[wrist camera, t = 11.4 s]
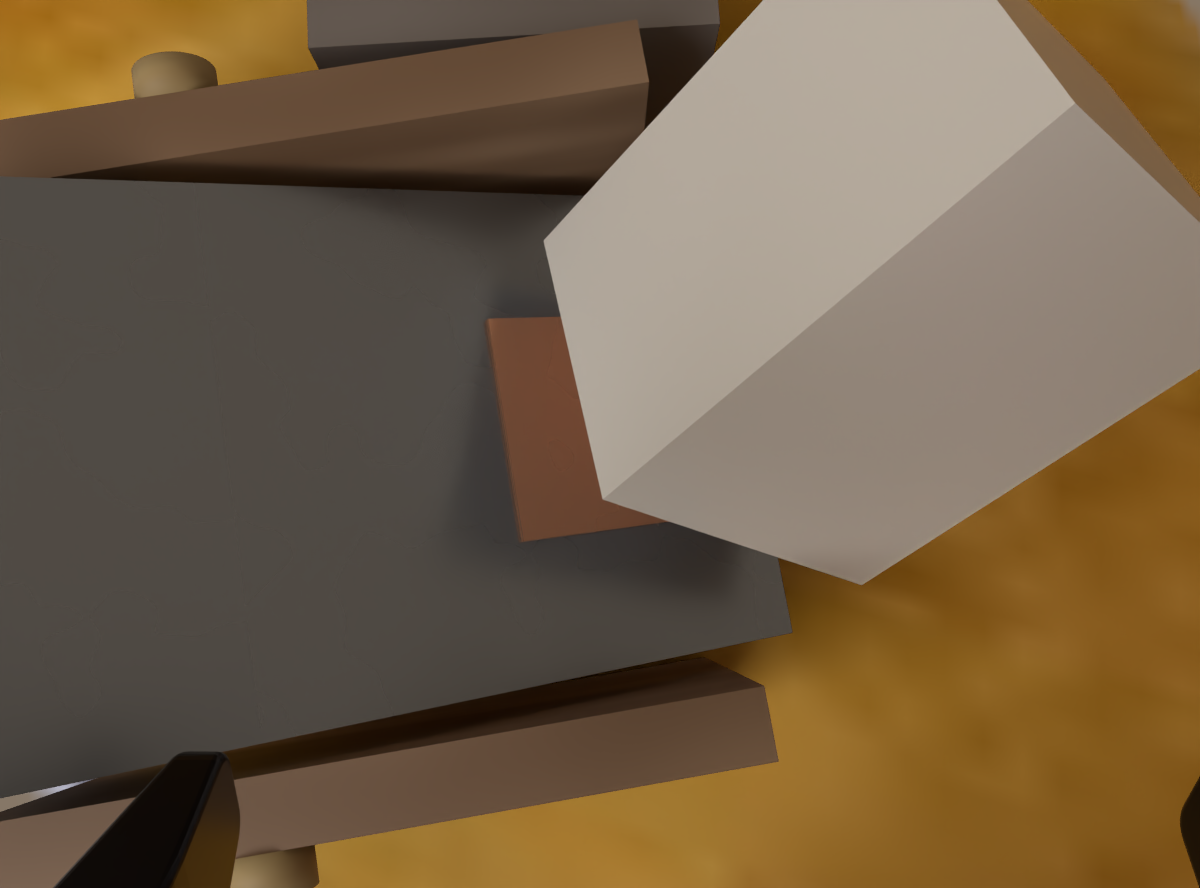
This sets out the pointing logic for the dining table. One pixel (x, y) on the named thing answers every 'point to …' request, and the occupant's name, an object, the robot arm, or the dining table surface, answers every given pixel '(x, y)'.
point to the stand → (514, 31)
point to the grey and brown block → (305, 474)
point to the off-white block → (872, 278)
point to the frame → (404, 162)
